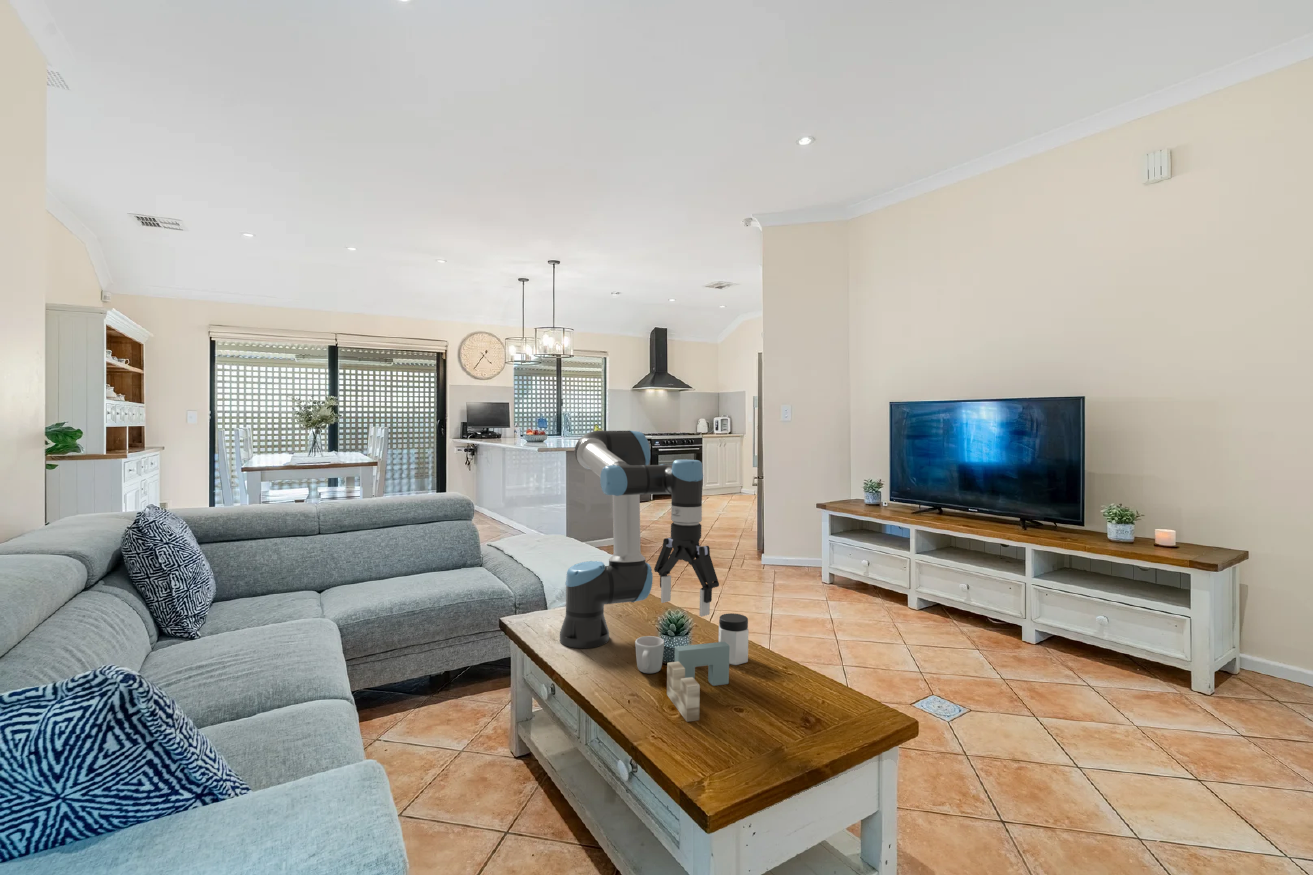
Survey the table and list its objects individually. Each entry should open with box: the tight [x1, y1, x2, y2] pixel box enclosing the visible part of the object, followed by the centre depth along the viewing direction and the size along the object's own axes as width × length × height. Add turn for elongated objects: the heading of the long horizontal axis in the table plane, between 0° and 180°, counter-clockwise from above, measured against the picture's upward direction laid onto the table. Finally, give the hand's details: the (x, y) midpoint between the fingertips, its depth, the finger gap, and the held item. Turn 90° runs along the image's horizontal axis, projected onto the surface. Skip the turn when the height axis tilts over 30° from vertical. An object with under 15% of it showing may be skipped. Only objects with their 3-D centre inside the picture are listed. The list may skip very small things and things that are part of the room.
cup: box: [634, 635, 665, 674], centre depth 162 cm, size 11×8×8 cm
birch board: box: [666, 661, 701, 723], centre depth 142 cm, size 14×3×8 cm, turn 18°
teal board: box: [673, 641, 730, 687], centre depth 155 cm, size 3×14×10 cm, turn 108°
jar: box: [718, 613, 749, 666], centre depth 172 cm, size 9×8×12 cm
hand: (684, 608), depth 148 cm, fingers open, 13 cm apart
